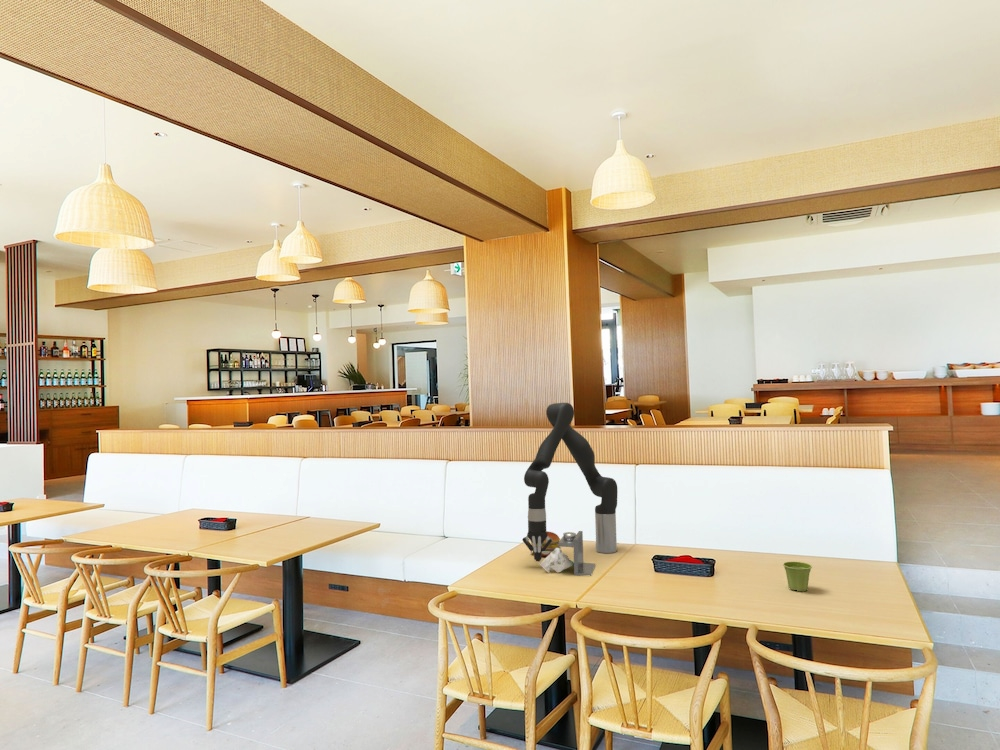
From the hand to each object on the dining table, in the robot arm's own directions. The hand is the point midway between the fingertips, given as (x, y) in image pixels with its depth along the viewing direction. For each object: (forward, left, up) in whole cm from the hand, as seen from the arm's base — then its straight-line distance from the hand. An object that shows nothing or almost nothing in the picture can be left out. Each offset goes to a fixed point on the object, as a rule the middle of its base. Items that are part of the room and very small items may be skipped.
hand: (537, 561), depth 267 cm
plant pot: (+13, +97, -3) cm, 98 cm away
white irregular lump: (+2, +9, -3) cm, 10 cm away
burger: (-22, -1, -3) cm, 23 cm away
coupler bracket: (+1, +17, -3) cm, 17 cm away
